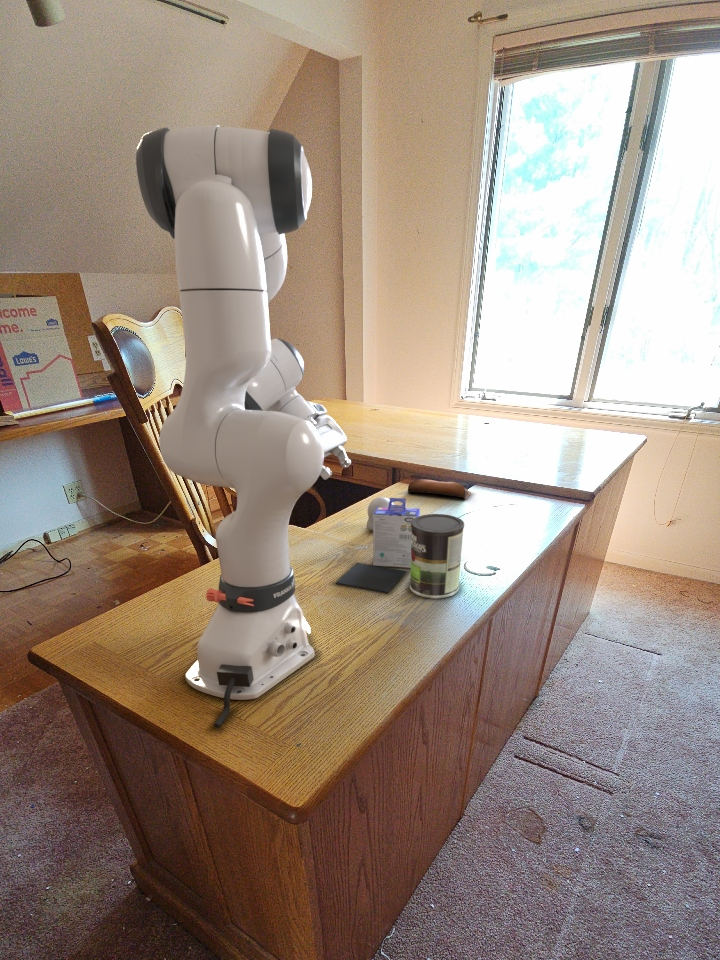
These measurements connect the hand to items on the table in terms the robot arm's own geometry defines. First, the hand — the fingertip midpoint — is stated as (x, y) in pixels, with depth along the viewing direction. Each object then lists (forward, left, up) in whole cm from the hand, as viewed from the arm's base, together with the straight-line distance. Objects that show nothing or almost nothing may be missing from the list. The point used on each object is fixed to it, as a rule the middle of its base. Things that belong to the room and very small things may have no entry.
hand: (339, 471), depth 122 cm
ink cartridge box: (0, -14, -20) cm, 24 cm away
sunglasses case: (+53, -7, -20) cm, 57 cm away
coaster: (-10, -12, -19) cm, 25 cm away
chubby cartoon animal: (+18, -5, -20) cm, 27 cm away
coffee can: (-9, -26, -20) cm, 34 cm away
